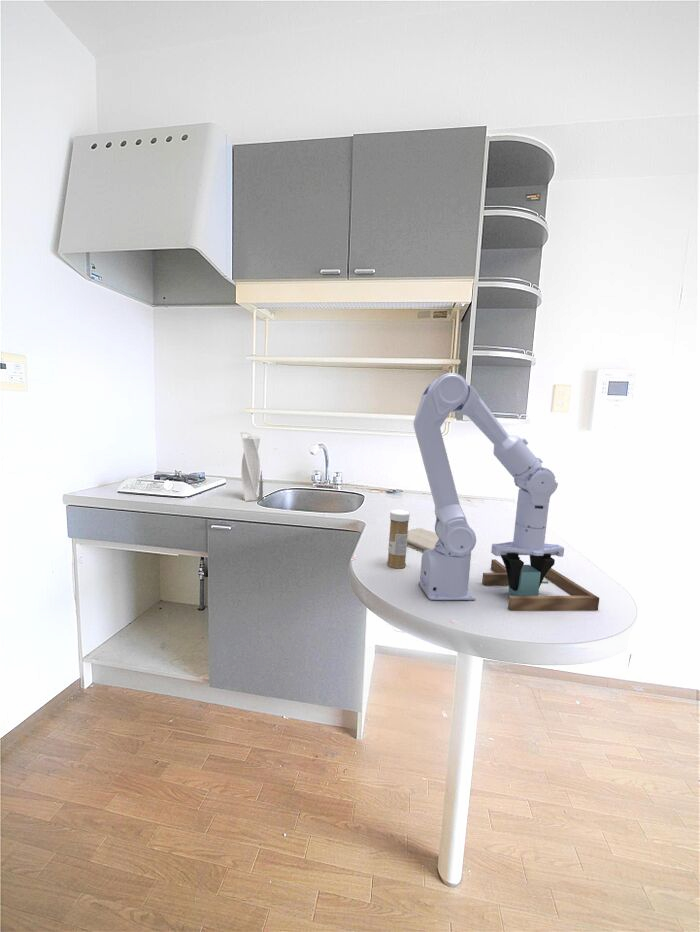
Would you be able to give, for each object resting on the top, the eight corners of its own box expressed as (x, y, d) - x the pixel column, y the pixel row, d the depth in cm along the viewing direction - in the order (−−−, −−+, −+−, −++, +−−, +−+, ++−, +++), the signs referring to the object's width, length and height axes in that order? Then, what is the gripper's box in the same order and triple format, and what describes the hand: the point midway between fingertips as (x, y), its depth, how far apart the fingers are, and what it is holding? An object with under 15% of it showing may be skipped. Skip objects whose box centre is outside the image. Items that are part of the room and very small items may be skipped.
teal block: (518, 600, 76) (521, 572, 75) (508, 591, 80) (511, 564, 79) (537, 600, 76) (540, 572, 75) (526, 591, 80) (529, 564, 79)
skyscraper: (242, 502, 150) (243, 432, 146) (237, 498, 157) (238, 431, 153) (263, 501, 154) (265, 433, 151) (257, 497, 161) (258, 432, 158)
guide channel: (510, 610, 71) (511, 598, 71) (467, 569, 91) (468, 559, 91) (597, 610, 73) (599, 598, 73) (536, 569, 93) (538, 559, 93)
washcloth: (434, 560, 98) (435, 548, 97) (388, 540, 112) (388, 530, 111) (463, 552, 105) (464, 541, 104) (416, 534, 119) (416, 525, 119)
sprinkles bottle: (385, 561, 93) (388, 508, 92) (403, 562, 94) (407, 509, 92) (389, 569, 89) (392, 513, 87) (408, 569, 89) (411, 514, 88)
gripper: (506, 529, 71) (499, 597, 73) (577, 531, 73) (569, 597, 75) (489, 519, 78) (483, 582, 80) (554, 521, 80) (547, 582, 82)
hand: (523, 588), depth 78 cm, fingers closed on teal block, 4 cm apart
